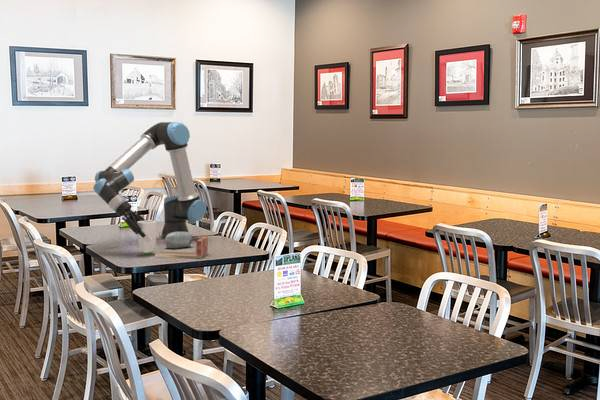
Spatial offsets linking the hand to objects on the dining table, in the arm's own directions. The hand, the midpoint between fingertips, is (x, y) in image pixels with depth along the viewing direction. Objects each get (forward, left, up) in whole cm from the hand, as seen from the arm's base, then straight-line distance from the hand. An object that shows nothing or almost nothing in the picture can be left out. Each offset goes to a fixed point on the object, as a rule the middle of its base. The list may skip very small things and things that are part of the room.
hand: (153, 239), depth 311 cm
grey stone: (-20, +6, -8) cm, 22 cm away
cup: (0, -3, -6) cm, 7 cm away
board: (0, +14, -7) cm, 16 cm away
